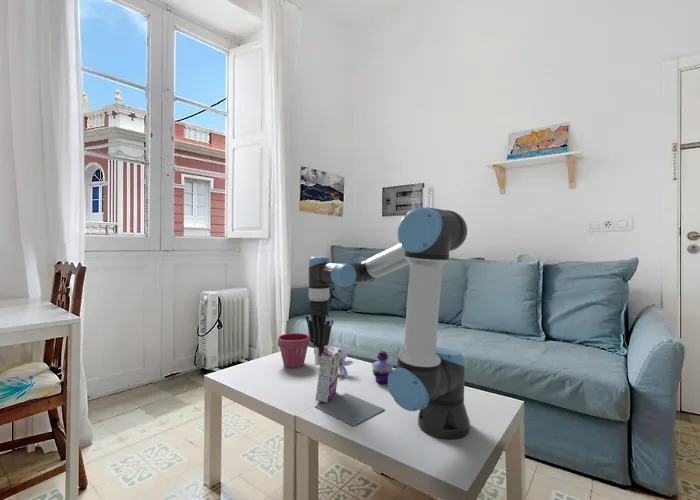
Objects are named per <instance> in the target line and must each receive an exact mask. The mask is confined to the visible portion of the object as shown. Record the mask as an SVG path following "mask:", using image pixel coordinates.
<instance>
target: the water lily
mask: <svg viewBox="0 0 700 500" xmlns="http://www.w3.org/2000/svg"><path fill="white" fill-rule="evenodd" d="M333 347H336V346H335V345H334V346H333ZM348 354H349V347H346V348H345V349H343V351H341V356H340V363H339V371H338V372H339V374H340V375H342V376H343V377H344V378H345V379H348V378H349V373H348V370H347V369H346V367H345V366H347V367H348V366H351V365H352V364H354V361H353V360H346V358H347V357H348Z"/></svg>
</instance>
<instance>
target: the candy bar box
mask: <svg viewBox="0 0 700 500" xmlns="http://www.w3.org/2000/svg"><path fill="white" fill-rule="evenodd" d="M341 353H342V348H340V347H336V346H335V347H334V346H333V345H332V346H330V345H328V347H327V348H326V349H324V352H323V353H322V354H321V361H320V365H319V370H318V379H317V388H316V394H315V401H317V402H321V403H324V402H325V403H329V401H330V400H331V399H333V396H334V395H335V394H336V392H337V385H338V378H339V372H340V371H339V363H340V356H341Z"/></svg>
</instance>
